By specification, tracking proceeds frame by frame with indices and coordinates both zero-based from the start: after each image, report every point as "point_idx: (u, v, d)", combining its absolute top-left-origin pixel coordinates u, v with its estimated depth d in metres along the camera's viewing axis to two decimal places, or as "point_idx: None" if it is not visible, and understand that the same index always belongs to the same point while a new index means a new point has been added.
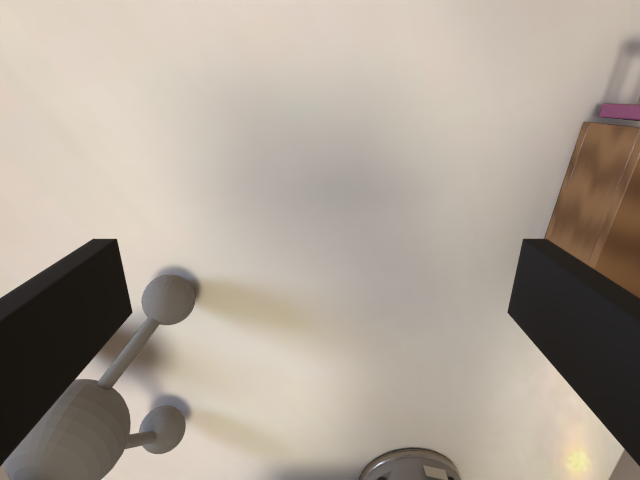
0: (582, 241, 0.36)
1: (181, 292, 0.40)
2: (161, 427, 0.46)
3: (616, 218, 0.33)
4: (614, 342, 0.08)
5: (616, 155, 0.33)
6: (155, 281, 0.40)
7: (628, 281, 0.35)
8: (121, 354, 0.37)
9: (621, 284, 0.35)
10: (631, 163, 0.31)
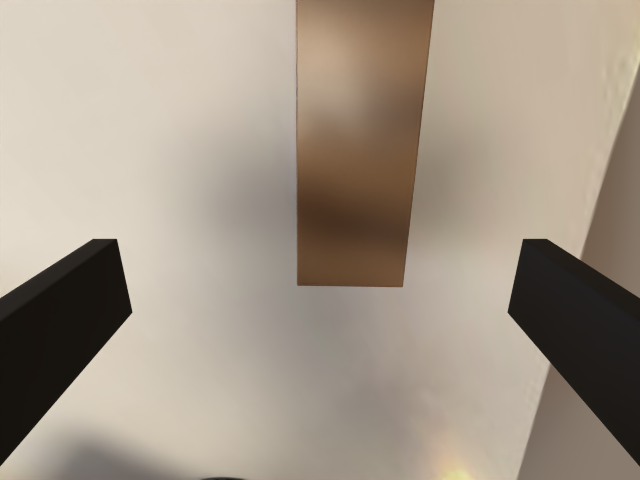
0: None
1: None
2: None
3: (300, 46, 0.16)
4: (614, 342, 0.08)
5: None
6: None
7: (370, 179, 0.19)
8: None
9: (359, 186, 0.19)
10: None
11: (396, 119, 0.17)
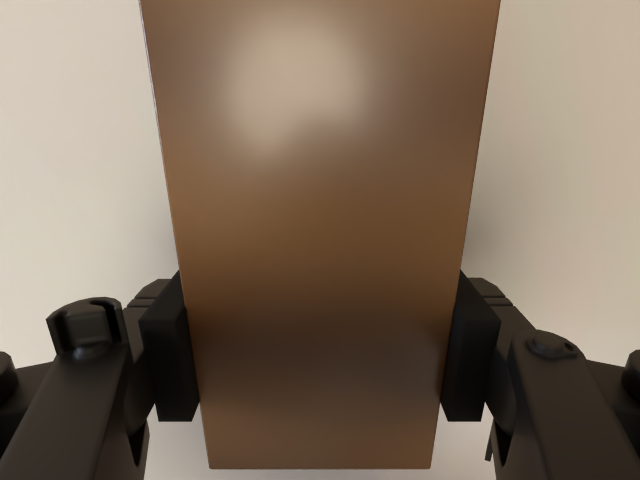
0: None
1: None
2: None
3: None
4: None
5: None
6: None
7: (355, 264, 0.08)
8: None
9: (329, 280, 0.08)
10: None
11: (418, 117, 0.07)
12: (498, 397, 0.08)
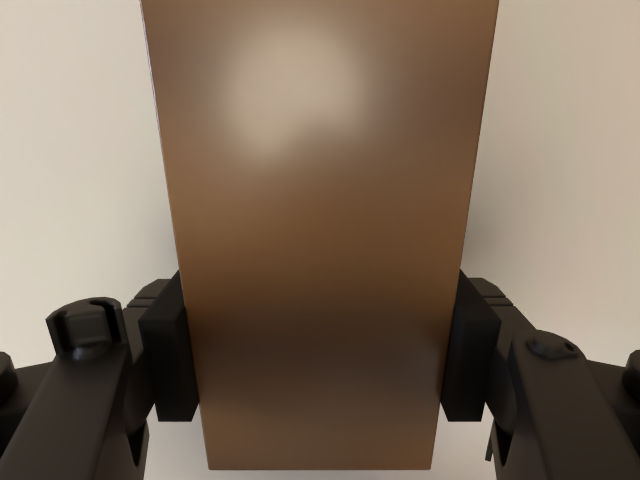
0: None
1: None
2: None
3: None
4: None
5: None
6: None
7: (355, 263, 0.08)
8: None
9: (329, 279, 0.08)
10: None
11: (417, 116, 0.07)
12: (498, 397, 0.08)
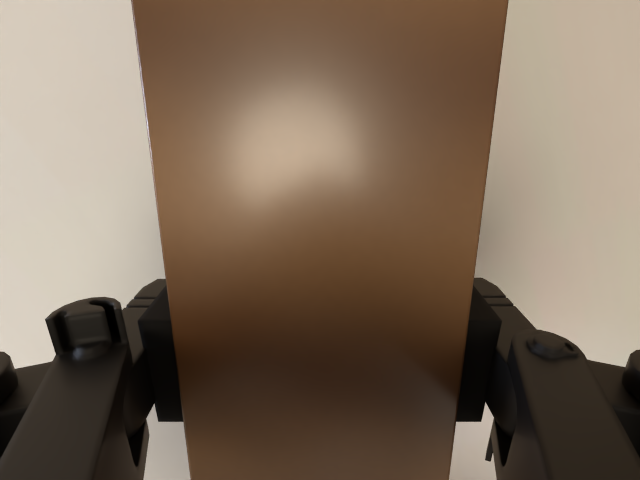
0: None
1: None
2: None
3: None
4: None
5: None
6: None
7: (359, 262, 0.07)
8: None
9: (330, 281, 0.07)
10: None
11: (426, 97, 0.06)
12: (498, 397, 0.08)
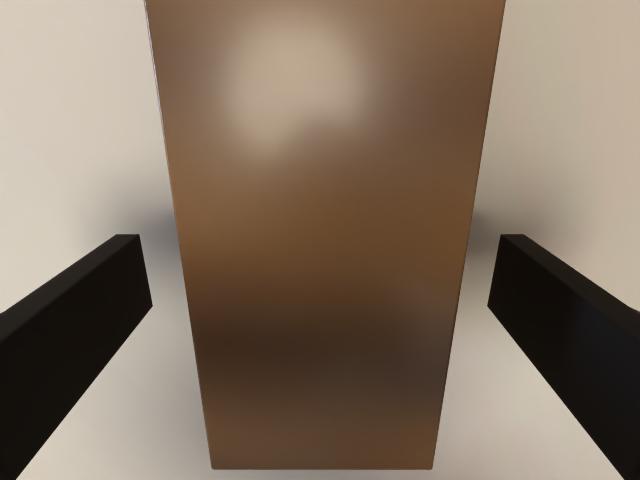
0: None
1: None
2: None
3: None
4: (578, 331, 0.09)
5: None
6: None
7: (358, 265, 0.08)
8: None
9: (332, 281, 0.08)
10: None
11: (422, 119, 0.07)
12: None
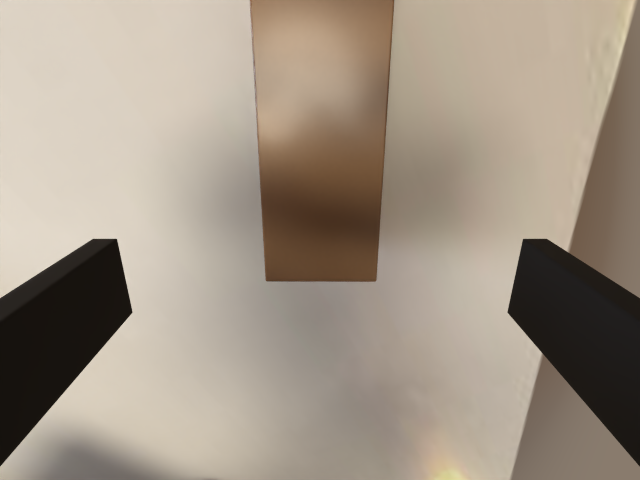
0: None
1: None
2: None
3: (256, 27, 0.16)
4: (614, 342, 0.08)
5: None
6: None
7: (337, 168, 0.18)
8: None
9: (325, 176, 0.18)
10: None
11: (361, 104, 0.17)
12: None
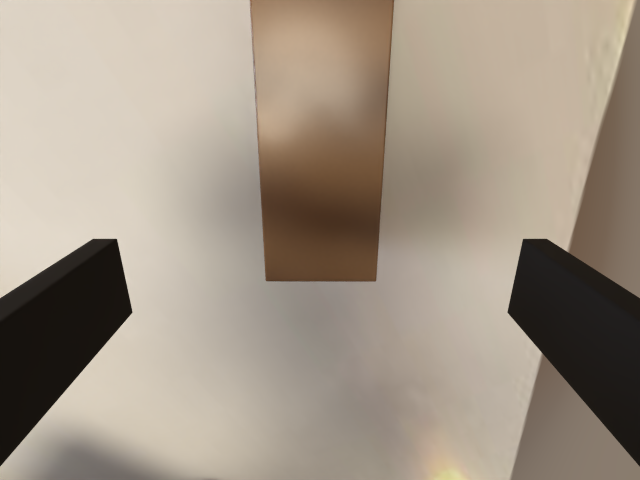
0: None
1: None
2: None
3: (256, 27, 0.16)
4: (614, 342, 0.08)
5: None
6: None
7: (336, 168, 0.18)
8: None
9: (325, 176, 0.18)
10: None
11: (361, 104, 0.17)
12: None
